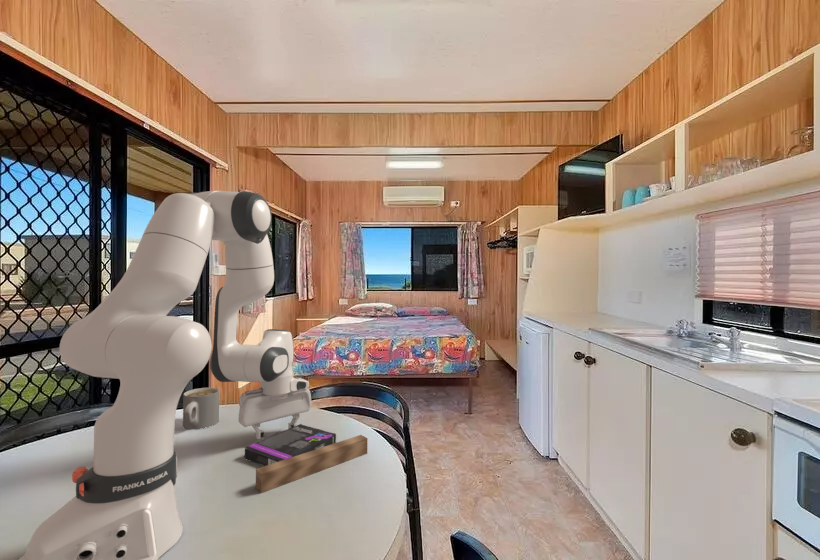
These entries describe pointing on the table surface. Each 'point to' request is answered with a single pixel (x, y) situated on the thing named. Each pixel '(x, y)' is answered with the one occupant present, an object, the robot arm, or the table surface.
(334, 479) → the table surface
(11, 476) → the table surface
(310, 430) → the box
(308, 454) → the walnut board
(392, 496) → the table surface
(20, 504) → the table surface
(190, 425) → the coffee mug
